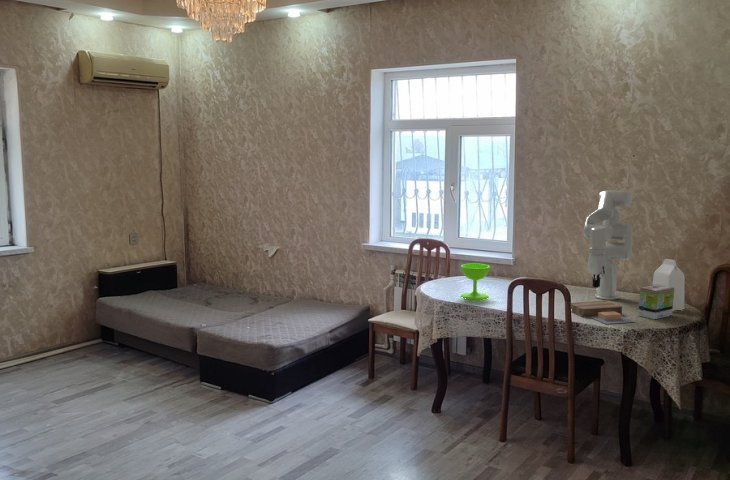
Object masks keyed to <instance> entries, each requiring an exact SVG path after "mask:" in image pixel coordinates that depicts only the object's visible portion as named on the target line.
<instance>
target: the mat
mask: <svg viewBox="0 0 730 480" xmlns="http://www.w3.org/2000/svg"><path fill="white" fill-rule="evenodd" d="M589 318H590V319H593V320H595V321H597V322H599V323H601V324H604V325H607V326H608V325H618V324H619V323H621V324H631V323H630V322H635V323H636V321H635V320H632V319H630V318H626V317H625V316H622V315H621V319H618V320H603V319H601V318H598V316H590V317H589Z"/></svg>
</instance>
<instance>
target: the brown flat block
mask: <svg viewBox="0 0 730 480" xmlns="http://www.w3.org/2000/svg"><path fill="white" fill-rule="evenodd" d="M570 303H571V309H572V312H571V313H573V314H575V315H577V316H579V317H582V318H590V316H598V312H612V311H615V312H617V313H620V314H621V316H622V314H623V306H621V305H619V304H615V303H613V302H611V301H608V300H595V301H581V302H580V301H579V302H578V301H577V302H570Z"/></svg>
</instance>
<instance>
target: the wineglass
mask: <svg viewBox="0 0 730 480" xmlns="http://www.w3.org/2000/svg"><path fill="white" fill-rule="evenodd" d="M460 268H461V271H462V274H463V275H464V277H465V278H467V279H469V280H471V281H472V280H473V281H472V283H473V285H472V286H473V288H472V292H465V293H462V294H461V295H460V298H461V297H463V298H466V299H471V300H470V301H473V300H481V301H483V300H482V299H487V298H489V299H490V297H489V295H488V294H485V293H481V292H478V289H477V287H478V285H477V283H478V281H479V280H482V279H484V278H485V277H486V276H487V275H488V274H489V271H490V268H491V266H490V265H489V264H485V263H464V264H461V265H460ZM487 300H488V299H487Z"/></svg>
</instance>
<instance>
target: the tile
mask: <svg viewBox="0 0 730 480" xmlns="http://www.w3.org/2000/svg"><path fill="white" fill-rule="evenodd" d="M621 316H622V315H621V314H620V313H617V312H615V311H612V312H598V318H601V319H603V320H618V319H621Z"/></svg>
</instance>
